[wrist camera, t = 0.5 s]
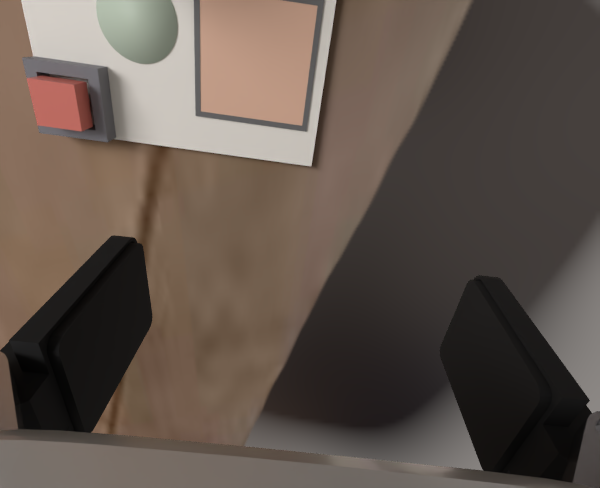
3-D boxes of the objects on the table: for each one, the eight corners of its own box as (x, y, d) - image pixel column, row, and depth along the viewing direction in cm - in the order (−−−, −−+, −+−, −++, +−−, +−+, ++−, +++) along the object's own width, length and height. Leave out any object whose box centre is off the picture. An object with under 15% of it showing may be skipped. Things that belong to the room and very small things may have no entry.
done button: (41, 75, 33) (26, 78, 32) (86, 81, 33) (73, 84, 32) (51, 120, 35) (37, 125, 34) (93, 126, 35) (81, 131, 34)
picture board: (12, -70, 30) (-12, -78, 28) (338, -20, 31) (340, -23, 29) (54, 128, 38) (37, 134, 36) (311, 164, 39) (311, 172, 37)
